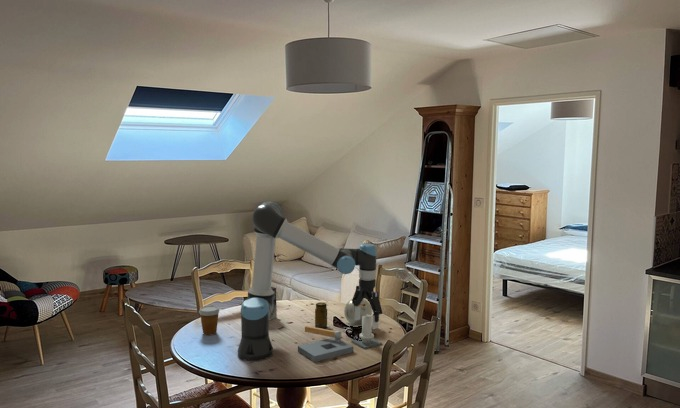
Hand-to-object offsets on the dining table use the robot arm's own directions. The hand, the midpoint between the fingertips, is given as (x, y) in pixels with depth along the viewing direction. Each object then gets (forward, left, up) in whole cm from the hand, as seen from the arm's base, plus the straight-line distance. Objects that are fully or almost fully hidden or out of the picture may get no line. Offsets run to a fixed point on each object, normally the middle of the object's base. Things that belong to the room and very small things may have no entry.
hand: (366, 324), depth 251 cm
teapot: (+10, +22, -9) cm, 26 cm away
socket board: (-21, +2, -9) cm, 23 cm away
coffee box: (-23, +56, -9) cm, 61 cm away
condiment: (-6, +29, -9) cm, 31 cm away
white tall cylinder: (0, 0, -9) cm, 9 cm away
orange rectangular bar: (-16, +11, -5) cm, 20 cm away
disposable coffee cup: (-55, +52, -9) cm, 76 cm away
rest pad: (0, 0, -9) cm, 9 cm away
